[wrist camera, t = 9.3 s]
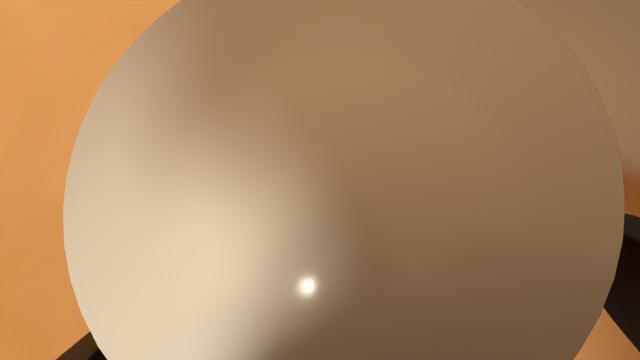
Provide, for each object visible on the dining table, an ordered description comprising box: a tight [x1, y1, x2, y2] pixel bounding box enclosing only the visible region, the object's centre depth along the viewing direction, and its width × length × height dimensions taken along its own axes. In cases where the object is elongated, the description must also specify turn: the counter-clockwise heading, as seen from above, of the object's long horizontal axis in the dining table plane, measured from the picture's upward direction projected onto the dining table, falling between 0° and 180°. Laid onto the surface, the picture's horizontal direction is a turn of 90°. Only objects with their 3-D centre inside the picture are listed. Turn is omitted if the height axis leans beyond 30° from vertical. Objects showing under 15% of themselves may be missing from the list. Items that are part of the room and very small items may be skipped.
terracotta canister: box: [63, 0, 625, 360], centre depth 11 cm, size 6×6×13 cm
